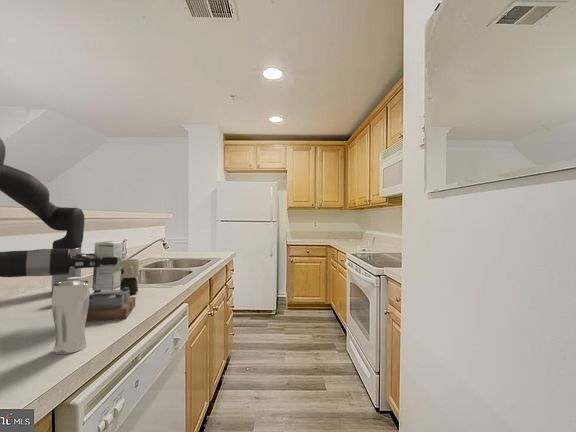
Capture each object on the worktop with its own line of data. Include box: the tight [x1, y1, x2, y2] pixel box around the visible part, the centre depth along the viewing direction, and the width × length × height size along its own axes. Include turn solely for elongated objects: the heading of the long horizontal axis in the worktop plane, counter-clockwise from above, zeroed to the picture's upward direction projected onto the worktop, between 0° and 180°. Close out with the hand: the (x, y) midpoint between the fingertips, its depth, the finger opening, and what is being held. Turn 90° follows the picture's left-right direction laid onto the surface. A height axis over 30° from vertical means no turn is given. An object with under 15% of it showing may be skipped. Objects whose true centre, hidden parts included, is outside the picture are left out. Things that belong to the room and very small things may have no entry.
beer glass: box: [51, 279, 91, 355], centre depth 68 cm, size 7×7×15 cm
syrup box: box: [92, 240, 124, 291], centre depth 92 cm, size 6×6×14 cm
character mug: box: [119, 258, 140, 296], centre depth 115 cm, size 11×7×13 cm, turn 36°
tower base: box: [86, 287, 136, 323], centre depth 92 cm, size 13×13×7 cm
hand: (115, 259), depth 93 cm, fingers closed on syrup box, 7 cm apart
